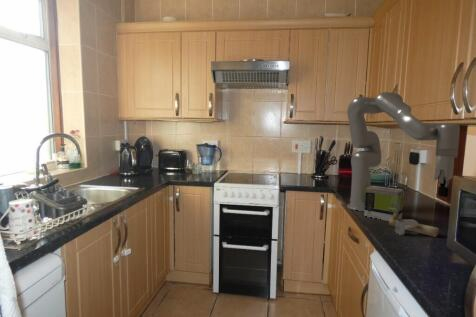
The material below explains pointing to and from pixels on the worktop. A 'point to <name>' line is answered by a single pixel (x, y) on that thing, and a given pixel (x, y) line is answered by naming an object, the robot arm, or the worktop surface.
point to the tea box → (383, 202)
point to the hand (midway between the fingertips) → (443, 195)
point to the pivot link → (416, 227)
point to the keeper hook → (403, 225)
